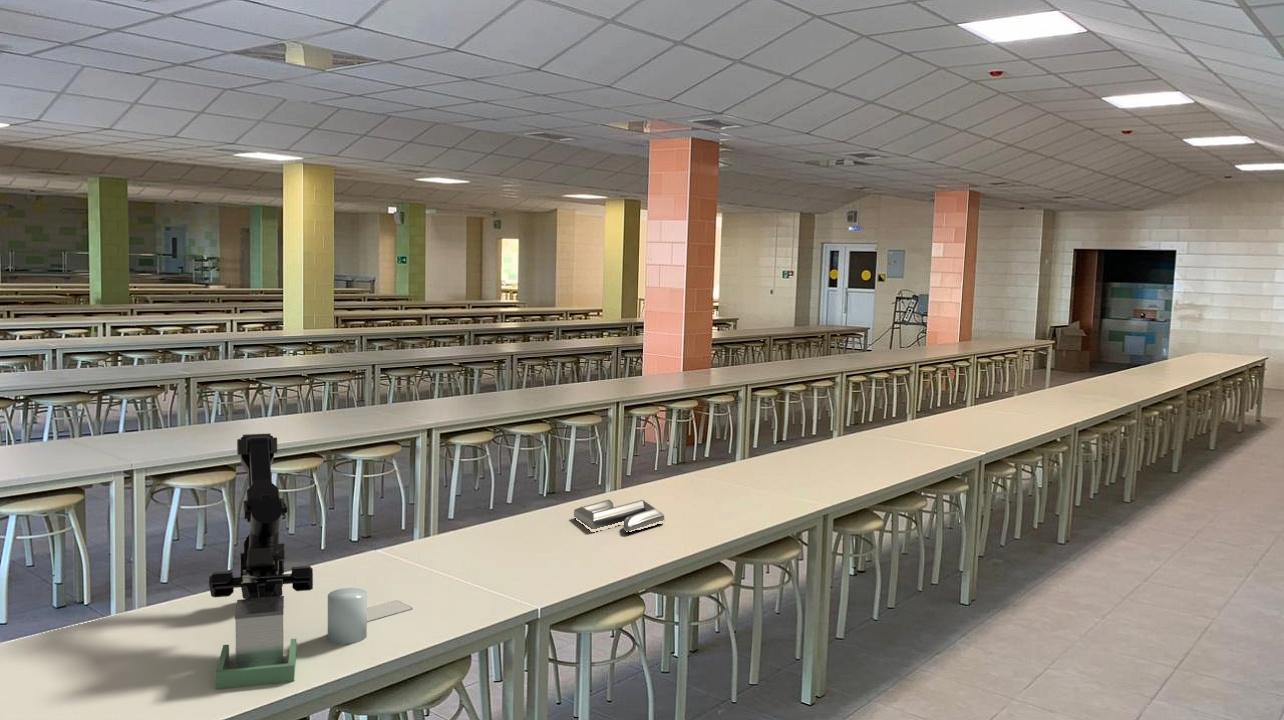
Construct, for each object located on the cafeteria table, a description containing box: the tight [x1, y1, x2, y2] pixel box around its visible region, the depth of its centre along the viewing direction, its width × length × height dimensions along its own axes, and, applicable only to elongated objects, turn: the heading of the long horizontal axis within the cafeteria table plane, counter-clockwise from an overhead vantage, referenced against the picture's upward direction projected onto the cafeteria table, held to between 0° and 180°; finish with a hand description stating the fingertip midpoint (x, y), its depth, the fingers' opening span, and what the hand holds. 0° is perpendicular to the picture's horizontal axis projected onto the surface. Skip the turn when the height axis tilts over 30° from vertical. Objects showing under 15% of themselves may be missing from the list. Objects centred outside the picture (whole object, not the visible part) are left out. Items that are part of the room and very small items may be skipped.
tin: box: [234, 595, 285, 669], centre depth 172 cm, size 8×8×12 cm
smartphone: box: [367, 600, 413, 623], centre depth 200 cm, size 7×1×15 cm
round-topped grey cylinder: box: [327, 587, 368, 645], centre depth 186 cm, size 8×8×9 cm
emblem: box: [573, 499, 665, 532], centre depth 279 cm, size 28×5×28 cm
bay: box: [214, 638, 297, 690], centre depth 170 cm, size 12×13×3 cm
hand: (260, 622), depth 176 cm, fingers closed
